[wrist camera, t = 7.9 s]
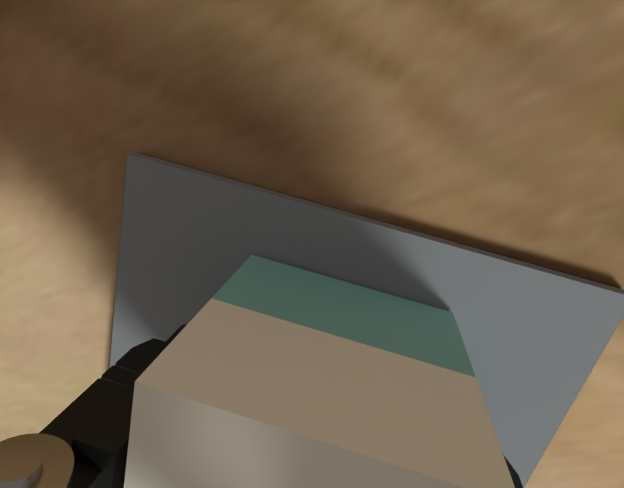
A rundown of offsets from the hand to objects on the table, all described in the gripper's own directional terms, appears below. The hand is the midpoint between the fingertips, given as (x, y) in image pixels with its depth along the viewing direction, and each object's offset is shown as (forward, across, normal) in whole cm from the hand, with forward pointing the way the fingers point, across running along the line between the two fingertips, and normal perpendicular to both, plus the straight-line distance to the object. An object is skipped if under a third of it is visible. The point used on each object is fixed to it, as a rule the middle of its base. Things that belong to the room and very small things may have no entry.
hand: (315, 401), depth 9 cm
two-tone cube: (+1, 0, 0) cm, 1 cm away
